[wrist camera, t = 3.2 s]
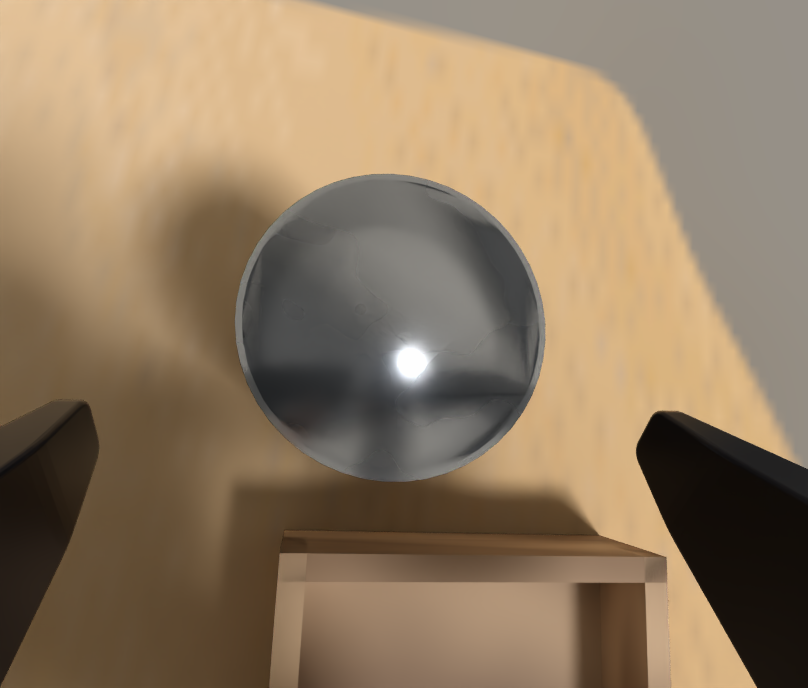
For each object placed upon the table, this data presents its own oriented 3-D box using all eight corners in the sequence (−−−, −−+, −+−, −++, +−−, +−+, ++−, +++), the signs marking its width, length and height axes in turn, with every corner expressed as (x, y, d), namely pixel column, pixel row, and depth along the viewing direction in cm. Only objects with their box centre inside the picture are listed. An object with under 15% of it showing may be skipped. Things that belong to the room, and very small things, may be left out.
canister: (295, 478, 18) (286, 528, 8) (255, 334, 19) (197, 210, 9) (437, 432, 19) (586, 425, 9) (394, 297, 20) (490, 148, 10)
